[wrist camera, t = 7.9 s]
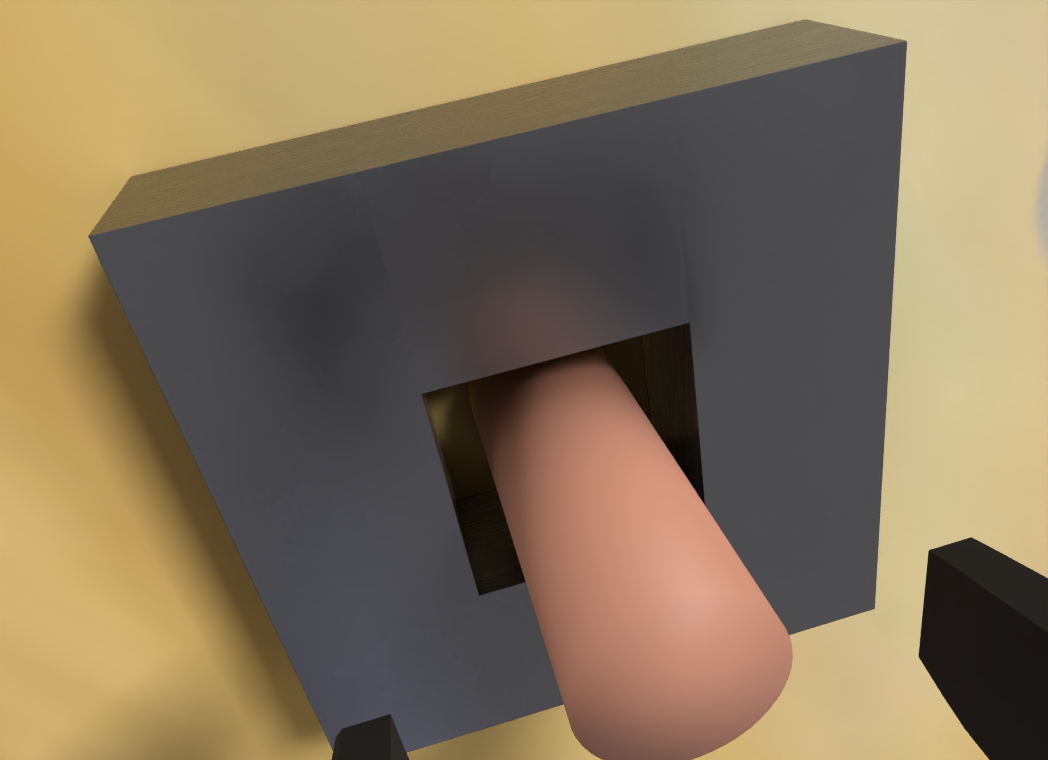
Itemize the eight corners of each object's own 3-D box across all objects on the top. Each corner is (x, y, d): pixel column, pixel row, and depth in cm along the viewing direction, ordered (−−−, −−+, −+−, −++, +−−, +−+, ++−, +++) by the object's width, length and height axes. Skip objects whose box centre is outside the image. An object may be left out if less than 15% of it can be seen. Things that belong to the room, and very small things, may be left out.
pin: (613, 428, 18) (788, 731, 12) (480, 459, 18) (581, 791, 11) (602, 305, 17) (796, 571, 10) (457, 337, 16) (555, 634, 10)
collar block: (806, 524, 21) (874, 608, 18) (339, 662, 20) (342, 771, 17) (805, 19, 15) (906, 41, 12) (130, 176, 14) (88, 235, 11)
